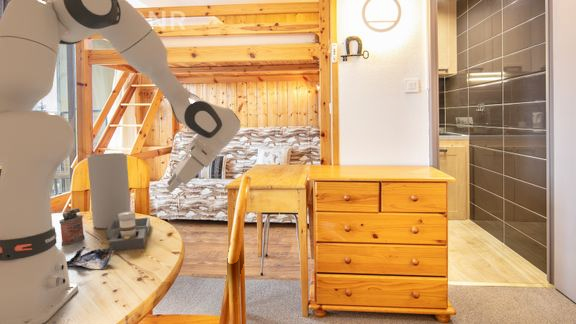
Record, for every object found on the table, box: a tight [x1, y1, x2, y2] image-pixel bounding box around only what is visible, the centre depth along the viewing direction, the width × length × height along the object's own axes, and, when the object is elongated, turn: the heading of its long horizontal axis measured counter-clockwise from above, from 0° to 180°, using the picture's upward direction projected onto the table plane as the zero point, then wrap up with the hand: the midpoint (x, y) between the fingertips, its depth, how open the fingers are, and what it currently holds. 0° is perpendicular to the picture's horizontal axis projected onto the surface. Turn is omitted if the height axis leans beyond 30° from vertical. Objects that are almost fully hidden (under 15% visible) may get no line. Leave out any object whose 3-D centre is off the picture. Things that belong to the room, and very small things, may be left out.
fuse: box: [118, 211, 137, 238], centre depth 115 cm, size 5×5×10 cm
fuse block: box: [109, 229, 147, 252], centre depth 115 cm, size 10×9×4 cm
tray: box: [106, 216, 151, 240], centre depth 128 cm, size 12×12×3 cm
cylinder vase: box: [86, 152, 132, 230], centre depth 137 cm, size 12×12×25 cm
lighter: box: [59, 207, 85, 247], centre depth 119 cm, size 8×3×10 cm, turn 168°
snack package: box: [66, 245, 115, 270], centre depth 100 cm, size 12×6×12 cm
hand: (168, 187), depth 117 cm, fingers open, 8 cm apart
